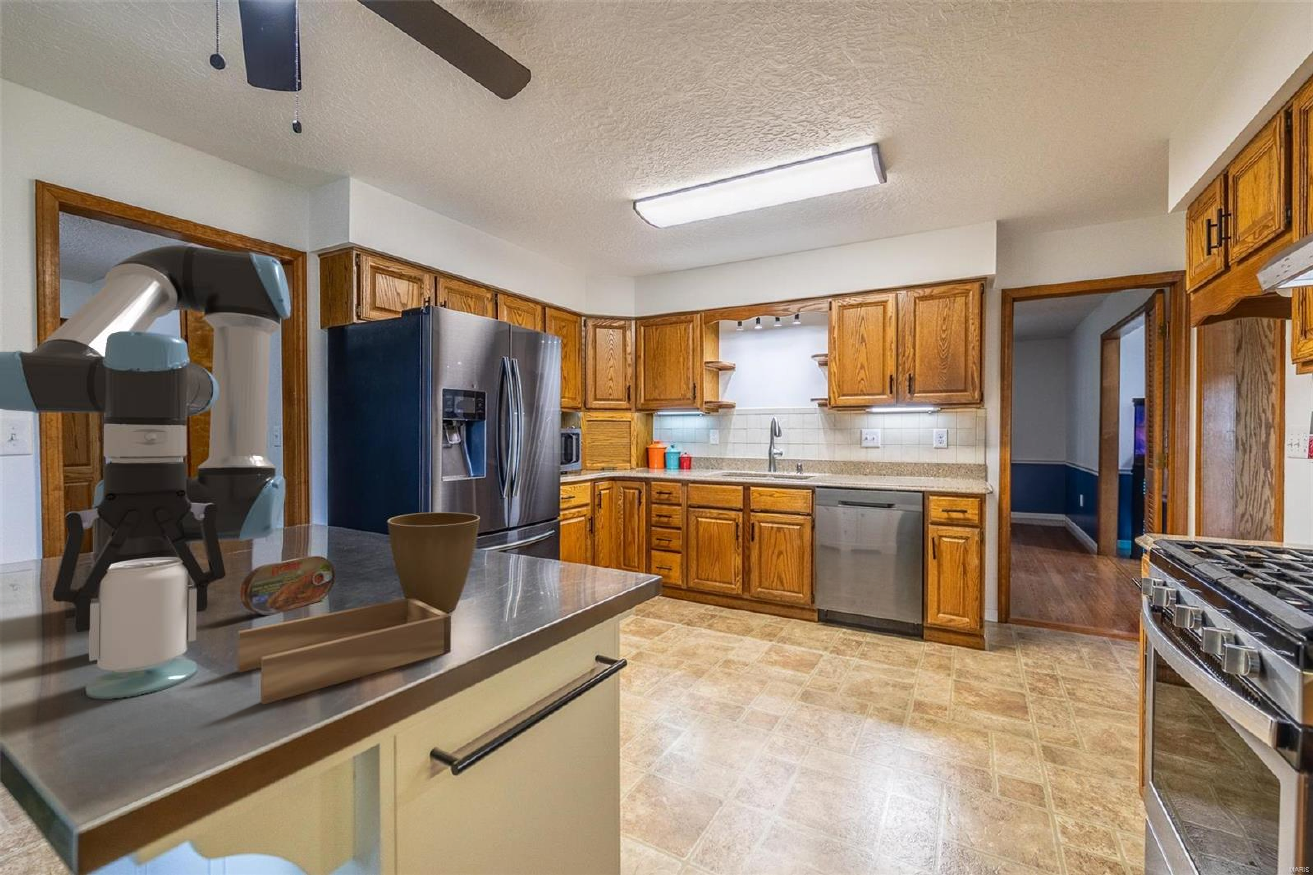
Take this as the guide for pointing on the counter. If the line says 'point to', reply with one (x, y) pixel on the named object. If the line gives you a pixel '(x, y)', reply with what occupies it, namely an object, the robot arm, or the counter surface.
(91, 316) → the robot arm
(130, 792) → the counter surface
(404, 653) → the brown wooden rectangular tray
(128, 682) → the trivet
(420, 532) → the plant pot
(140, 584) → the beverage can
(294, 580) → the tin
